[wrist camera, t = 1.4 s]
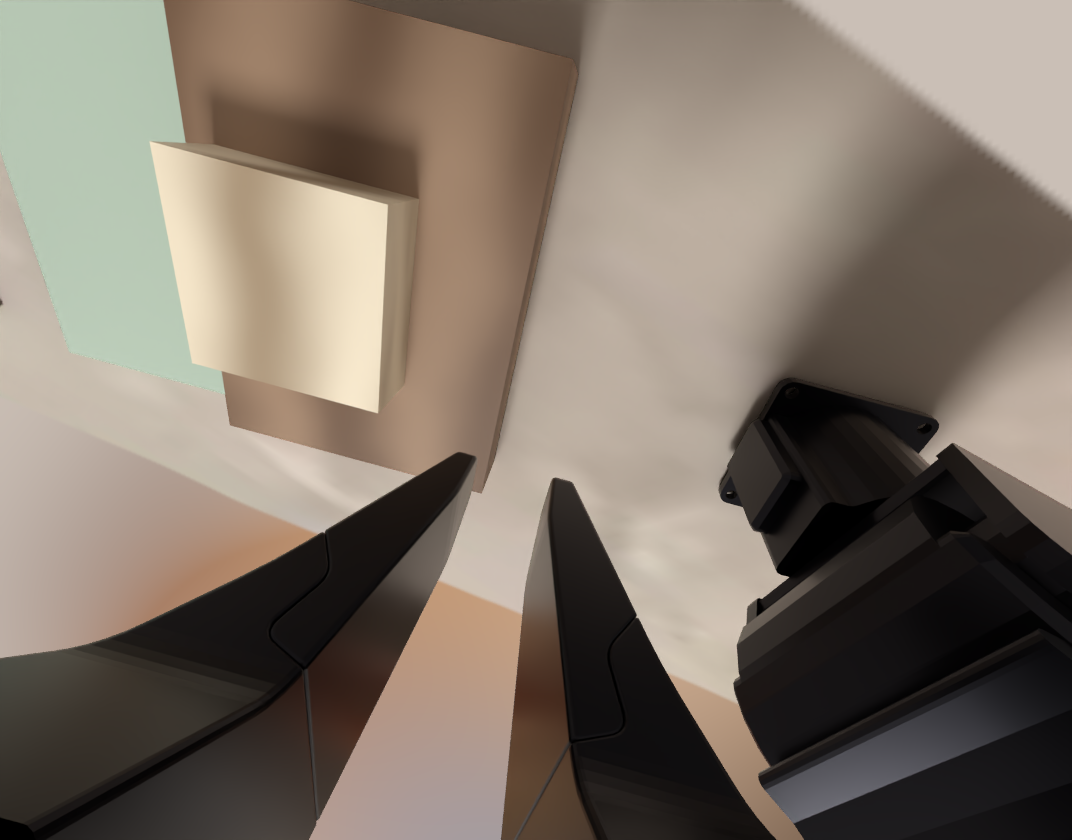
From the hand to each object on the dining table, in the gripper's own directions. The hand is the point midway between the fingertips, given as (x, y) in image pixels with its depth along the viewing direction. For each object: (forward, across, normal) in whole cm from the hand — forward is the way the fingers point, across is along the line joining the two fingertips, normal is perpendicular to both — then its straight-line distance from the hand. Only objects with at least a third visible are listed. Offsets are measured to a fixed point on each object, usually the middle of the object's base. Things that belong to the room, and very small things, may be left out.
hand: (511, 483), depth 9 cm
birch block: (+8, +9, 0) cm, 12 cm away
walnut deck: (+11, +8, 0) cm, 13 cm away
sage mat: (+11, +18, 0) cm, 22 cm away
